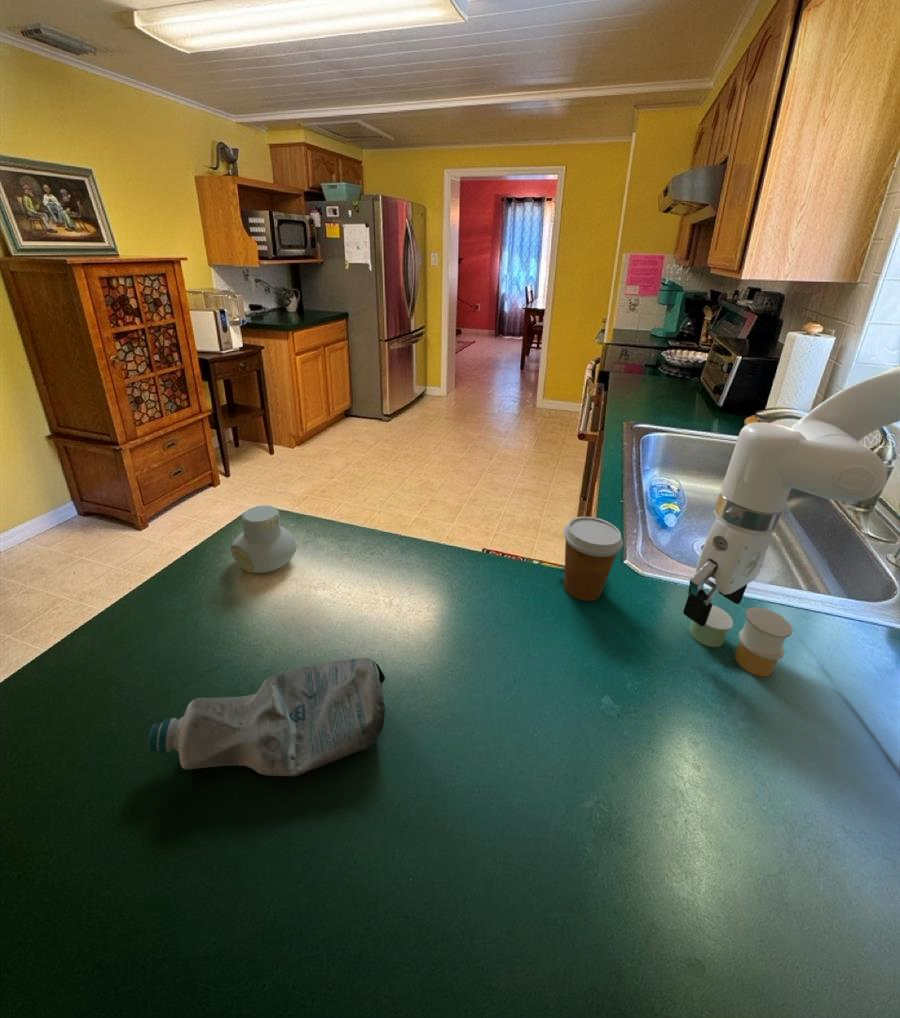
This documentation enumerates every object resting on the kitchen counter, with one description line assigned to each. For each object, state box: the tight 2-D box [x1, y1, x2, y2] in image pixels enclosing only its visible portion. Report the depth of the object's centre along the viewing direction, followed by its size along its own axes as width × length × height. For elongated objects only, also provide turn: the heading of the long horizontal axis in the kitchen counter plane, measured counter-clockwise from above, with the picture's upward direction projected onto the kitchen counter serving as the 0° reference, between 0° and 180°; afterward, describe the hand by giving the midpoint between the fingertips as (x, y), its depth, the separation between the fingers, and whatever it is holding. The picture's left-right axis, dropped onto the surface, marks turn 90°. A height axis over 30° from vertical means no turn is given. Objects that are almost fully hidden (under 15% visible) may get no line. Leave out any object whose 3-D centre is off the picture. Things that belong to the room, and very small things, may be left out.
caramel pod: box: [734, 629, 785, 678], centre depth 68 cm, size 6×6×4 cm
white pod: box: [741, 606, 793, 656], centre depth 67 cm, size 6×6×4 cm
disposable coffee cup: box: [563, 516, 624, 602], centre depth 80 cm, size 10×10×12 cm
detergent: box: [147, 657, 386, 777], centre depth 53 cm, size 13×7×25 cm
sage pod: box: [688, 604, 734, 648], centre depth 73 cm, size 6×6×4 cm
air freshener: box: [230, 504, 298, 574], centre depth 82 cm, size 11×8×10 cm
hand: (711, 608), depth 72 cm, fingers open, 9 cm apart
